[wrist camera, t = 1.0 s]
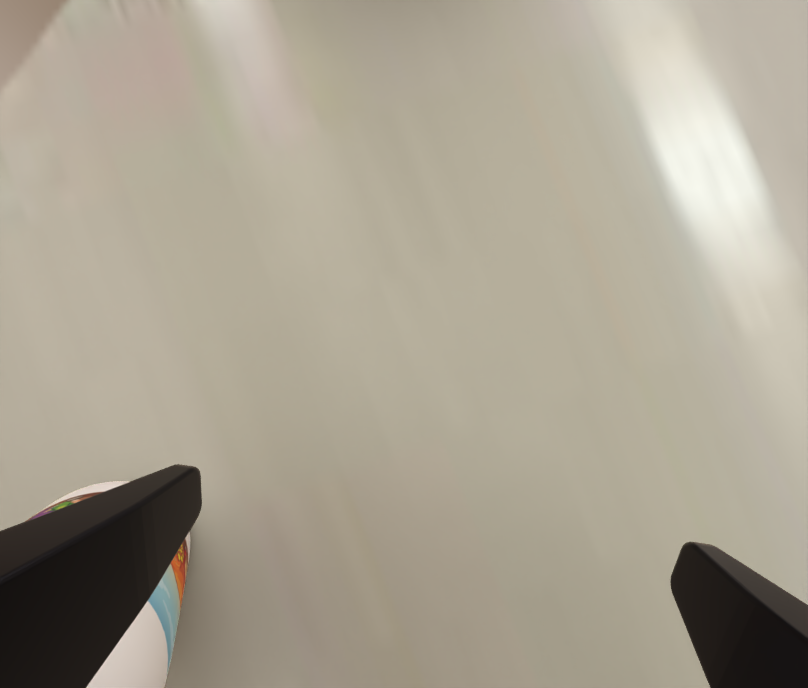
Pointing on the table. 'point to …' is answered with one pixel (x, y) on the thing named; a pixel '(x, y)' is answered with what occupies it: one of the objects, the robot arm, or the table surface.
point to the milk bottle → (141, 618)
